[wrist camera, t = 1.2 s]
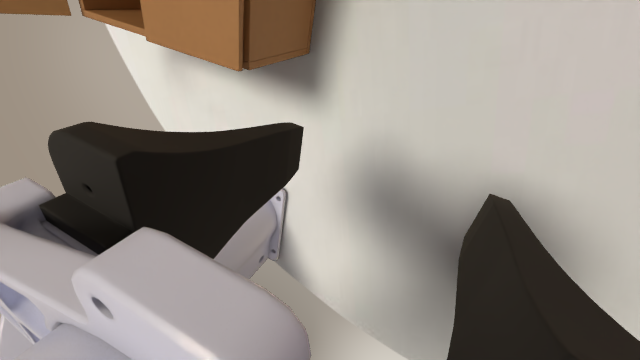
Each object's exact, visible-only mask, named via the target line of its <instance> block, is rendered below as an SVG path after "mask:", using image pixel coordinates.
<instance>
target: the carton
mask: <svg viewBox="0 0 640 360" xmlns="http://www.w3.org/2000/svg"><path fill="white" fill-rule="evenodd" d="M315 3H316V0H79V4H80V8H81V12H82V15H83V16H85V17H88V18H91V19H94V20H97V21H100V22H103V23H106V24H109V25H112V26H116V27H119V28H122V29H125V30H128V31H131V32H134V33H137V34H140V35H143V36H146V40H147V41H149V42H152V43H155V44H158V45H161V46H164V47H167V48H170V49H173V50H176V51H179V52H182V53H185V54H188V55H191V56H194V57H197V58H200V59H203V60H206V61H209V62H212V63H215V64H218V65H221V66H224V67H227V68H230V69H233V70H236V71H242V68H244V69H247V70H252V69H255V68H259V67H262V66H266V65H269V64H273V63H276V62H280V61H284V60H287V59H291V58H294V57H298V56H301V55H305V54H309V50H310V42H311V34H312V26H313V18H314V11H315Z"/></svg>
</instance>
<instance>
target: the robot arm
mask: <svg viewBox="0 0 640 360" xmlns="http://www.w3.org/2000/svg"><path fill="white" fill-rule="evenodd" d="M303 129H304V127H302V126H299V125H296V124H293V123H277V124H270V125H264V126H257V127H251V128H243V129H235V130H227V131H216V132H163V131H150V130H141V129H132V128H124V127H118V126H113V125H106V124H100V123H95V122H83V123H80V124H77V125H73V126H70V127H66V128H63V129H60V130H56V131H53V132H52V133H51V135H50V137H49V141H48V147H49V153H50V156H51V158H52V161H53V164H54V166H55V168H56V171H57V173H58V175H59V178H60V180H61V182H62V185H63V187H64V190H65V192H66V193H65V194H63V195H61V196H58V197H55V196H54V195H53V194H52V193H51V192H50V191H49V190H48V189H46V188H45V187H43V186H41V185H40V184H38V183H37V182H35V181H33V180H32V179H30V178H23V179H20V180H18V181H15V182H12V183H10V184H7V185H4V186H2V187H0V314H1V320H0V360H310V357H311V352H310V346H309V340H308V335H307V332H306V329H305V327H304V326H303V325H302V323H301V322H300V321H299V319H298V318H297V316H296V315H295V314H294V312H293V311H292V309H291V308H290V307H289V306H287V305H286V304H285V303H284V302H282V301H281V300H279V299H278V298H277V297H276V296H275V295H273V294H272V293H271V292H269V291H268V290H267V289H265V288H263V287H261V286H259V285H258V284H256V283H254V282H252V281H251V280H249V279H250V278H251V277H252V276H253V274H254V273H255V272H256V271H257V270H258V269H259V268H260V266H261V265H262V264H263V263H264V262H265V261H266V260H267V258H269V259H271V260H273V261H277V259H278V258H279V250H280V242H281V233H282V224H283V216H284V207H285V198H286V192H285V191H284V189H282V188H283V187H284V186H285V185H286V184H287V183H288V182H289V181H290V179H291V178H292V177H293V176H294V174H295V173H296V172H297V171H298V169H299V161H300V153H301V145H302V137H303ZM279 197H280V198H281V199H280V198H279ZM447 360H640V341H638V340H637V339H636V338H635V337H634V336H632V335H631V334H630V333H629V332H628V331H626V330H625V329H624V328H623V327H622V326H621V325H619V324H618V323H617V322H616V321H615V320H614V319H613V318H612V317H610V316H609V315H608V314H607V313H606V312H605V311H604V310H603V309H601V308H600V307H599V306H598V305H597V304H596V303H595V302H594V301H593V300H592V299H591V298H590V297H589V296H588V295H587V294H586V293H585V292H584V291H583V290H582V289H581V288H580V287H579V286H578V285H577V284H576V283H575V282H574V281H573V280H572V279H571V278H570V277H569V276H568V275H567V274H566V273H565V272H564V270H563V269H562V268H561V267H560V266H559V265H558V264H557V262H556V261H555V260H554V259H553V258H552V256H551V255H550V254H549V253H548V252H547V250H546V249H545V248H544V247H543V245H542V244H541V243H540V241H539V240H538V239H537V237H536V236H535V235H534V233H533V232H532V231H531V229H530V228H529V226H528V225H527V224H526V222H525V221H524V219H523V218H522V217H521V215H520V214H519V212H518V211H517V210H516V208H515V207H514V206H513V204H512V203H511V202H510V201H509V200H506V199H503V198H501V197H498V196H495V195H492V194H489V196H488V198H487V199H486V201H485V203H484V204H483V206H482V208H481V209H480V211H479V213H478V215H477V216H476V218H475V220H474V221H473V223H472V225H471V226H470V228H469V230H468V231H467V233H466V235H465V237H464V240H463V244H462V248H461V253H460V257H459V265H458V278H457V292H456V306H455V318H454V327H453V332H452V337H451V343H450V348H449V353H448V358H447Z"/></svg>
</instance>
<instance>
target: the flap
mask: <svg viewBox="0 0 640 360" xmlns="http://www.w3.org/2000/svg"><path fill="white" fill-rule="evenodd" d="M0 13H5V14H6V13H7V14H34V15H35V14H36V15H66V16H71V12H70V9H69V6H68V2H67V0H0Z"/></svg>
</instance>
